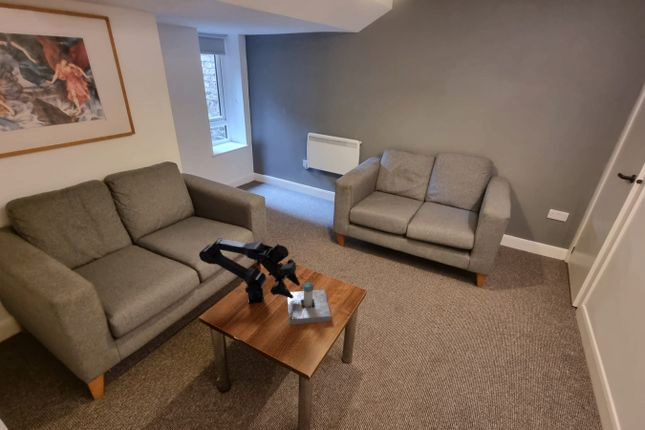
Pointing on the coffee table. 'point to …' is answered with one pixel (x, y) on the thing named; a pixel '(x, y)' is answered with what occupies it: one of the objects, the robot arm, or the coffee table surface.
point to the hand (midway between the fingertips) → (296, 291)
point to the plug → (308, 295)
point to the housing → (308, 314)
